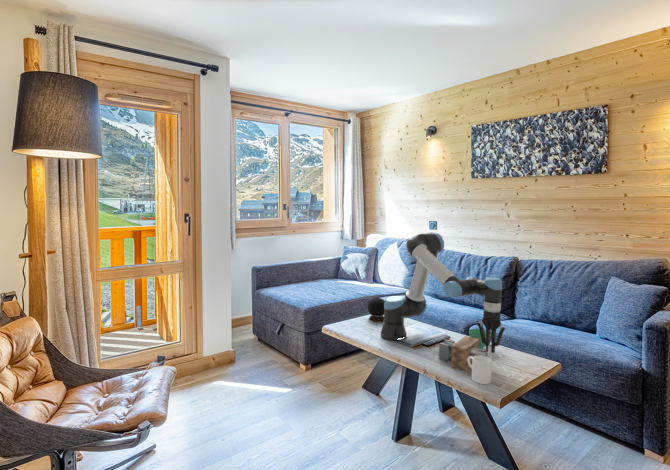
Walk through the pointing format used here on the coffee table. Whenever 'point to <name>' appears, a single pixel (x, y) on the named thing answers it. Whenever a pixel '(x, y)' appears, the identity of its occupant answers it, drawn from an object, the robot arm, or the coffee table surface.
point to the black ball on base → (376, 309)
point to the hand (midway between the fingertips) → (489, 358)
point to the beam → (463, 352)
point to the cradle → (445, 351)
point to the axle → (472, 350)
